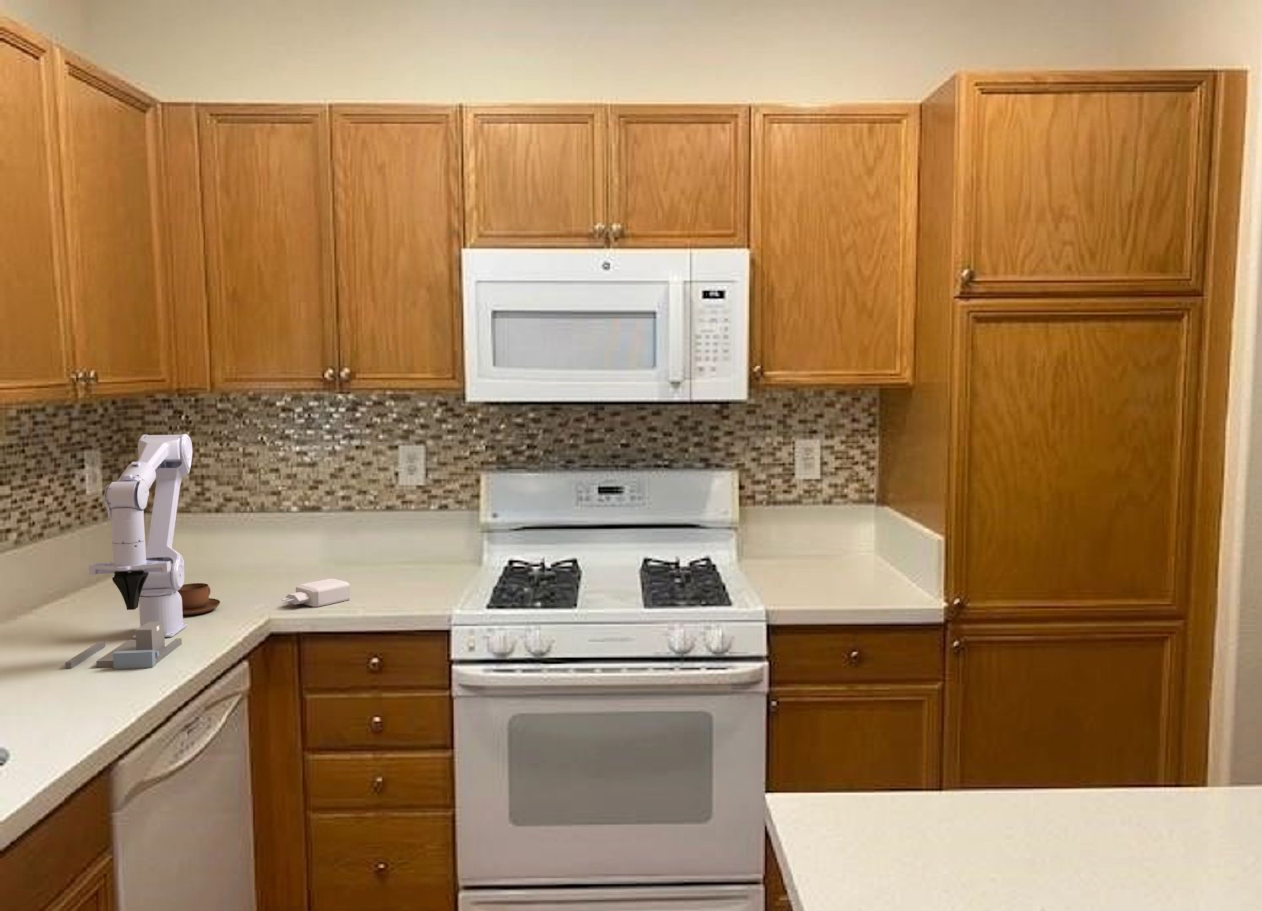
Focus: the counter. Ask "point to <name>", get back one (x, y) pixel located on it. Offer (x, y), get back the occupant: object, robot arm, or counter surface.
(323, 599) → the charger
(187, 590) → the cup and saucer
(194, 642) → the counter surface
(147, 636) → the tall taupe box
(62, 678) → the counter surface
